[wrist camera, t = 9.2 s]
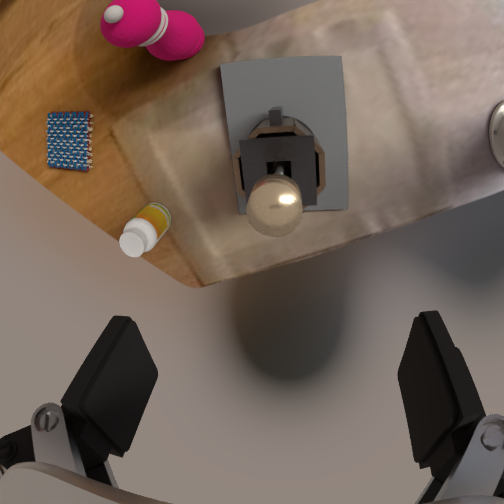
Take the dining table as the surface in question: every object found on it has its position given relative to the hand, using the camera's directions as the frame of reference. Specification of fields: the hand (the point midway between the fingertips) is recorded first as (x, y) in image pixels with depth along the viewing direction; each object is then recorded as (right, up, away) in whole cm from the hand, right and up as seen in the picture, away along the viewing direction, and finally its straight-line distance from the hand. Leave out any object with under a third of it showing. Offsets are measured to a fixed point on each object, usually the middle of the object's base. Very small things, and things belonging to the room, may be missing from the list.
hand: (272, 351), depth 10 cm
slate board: (+4, +19, +30) cm, 36 cm away
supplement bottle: (-16, +9, +39) cm, 43 cm away
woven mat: (-32, +23, +34) cm, 52 cm away
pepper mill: (-10, +33, +25) cm, 42 cm away
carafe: (+3, +17, +30) cm, 35 cm away
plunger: (+3, +16, +29) cm, 33 cm away
